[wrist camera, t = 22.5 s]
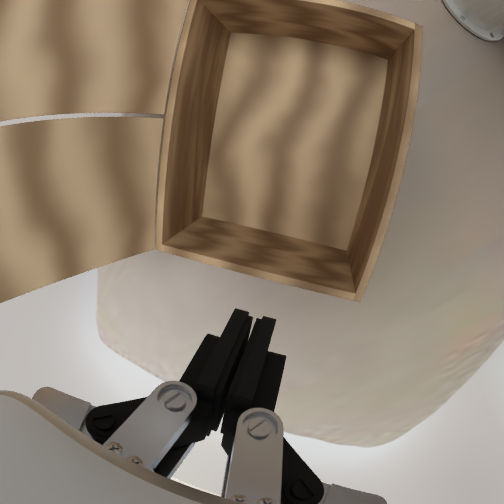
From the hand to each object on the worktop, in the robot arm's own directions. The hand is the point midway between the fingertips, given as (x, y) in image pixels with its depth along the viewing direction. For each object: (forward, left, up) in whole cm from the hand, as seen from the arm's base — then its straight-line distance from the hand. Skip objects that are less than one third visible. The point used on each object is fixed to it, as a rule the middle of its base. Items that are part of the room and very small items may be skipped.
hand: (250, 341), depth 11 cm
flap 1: (+18, -15, -5) cm, 24 cm away
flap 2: (+18, -1, -5) cm, 18 cm away
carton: (+2, -8, -27) cm, 29 cm away
